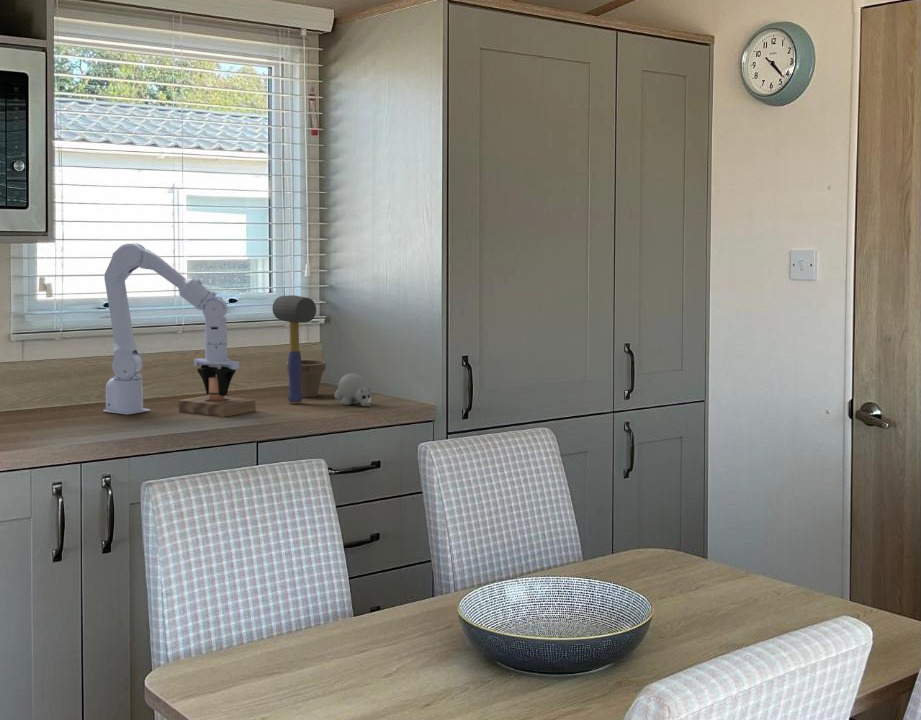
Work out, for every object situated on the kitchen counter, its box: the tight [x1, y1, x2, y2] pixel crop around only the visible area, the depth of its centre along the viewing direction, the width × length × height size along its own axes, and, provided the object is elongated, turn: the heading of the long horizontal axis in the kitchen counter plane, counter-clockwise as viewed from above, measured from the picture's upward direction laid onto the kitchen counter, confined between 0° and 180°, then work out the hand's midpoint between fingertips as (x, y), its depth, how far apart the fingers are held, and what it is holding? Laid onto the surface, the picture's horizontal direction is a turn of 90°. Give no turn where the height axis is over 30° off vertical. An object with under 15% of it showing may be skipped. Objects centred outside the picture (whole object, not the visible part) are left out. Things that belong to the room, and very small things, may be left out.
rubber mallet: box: [271, 295, 317, 405], centre depth 311 cm, size 12×8×30 cm, turn 43°
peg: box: [208, 376, 226, 402], centre depth 298 cm, size 4×4×7 cm
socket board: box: [178, 395, 256, 418], centre depth 299 cm, size 16×12×3 cm
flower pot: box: [285, 359, 327, 399], centre depth 327 cm, size 12×11×10 cm
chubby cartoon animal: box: [334, 373, 372, 407], centre depth 310 cm, size 7×12×8 cm, turn 45°
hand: (216, 394), depth 298 cm, fingers closed on peg, 4 cm apart
